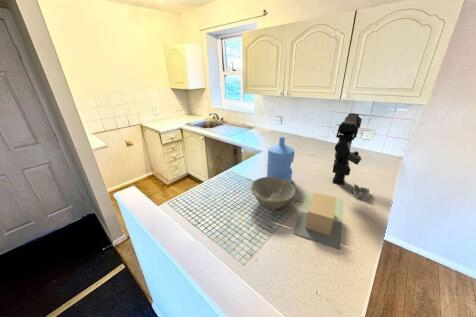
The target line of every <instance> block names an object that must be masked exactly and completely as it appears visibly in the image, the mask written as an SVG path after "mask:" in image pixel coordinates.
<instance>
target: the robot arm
mask: <svg viewBox="0 0 476 317" xmlns="http://www.w3.org/2000/svg"><path fill="white" fill-rule="evenodd" d="M362 120H363V119H362V118H361V117H360V114H358V113H348V115H347V116H346V117H345V119H344V121H342V122H341V124H339V126H338V128H337V133H336V135H335V136H336V137H335V138H337V139H338V141H337V142H336V144H335V146H334V150H335V151H334V160H333V166H332V173H333V174H334V177H332V183H333V184H338V185H345V180H346V179H345V178H346V177H348V176H350V173H351V167H350V163H353V164H355V165H357V166H358V165H359V163H360V162H361V161H362V157H361V155H359V153H360V152H358V151H356V150H355V151H353V152H352V151H351V147H352V143H353V141H354V140H355V139H356V138H357V135H358V133H359V132H358V131H359V129H360V128H361V124H362Z"/></svg>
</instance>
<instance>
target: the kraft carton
mask: <svg viewBox="0 0 476 317" xmlns="http://www.w3.org/2000/svg"><path fill="white" fill-rule="evenodd" d="M336 198H337V197H335V196H330V195H327V194H326V195H325V194H322V193H319V194H318V192H314V193H313V196H312V199H311V203H310V206H309V209H308V213H307V219H306V226H305V228H307V229H310V230H313V231H316V232H319V233H322V234H325V235H328V236H330V233H331V229H332V225H333V221H334V214H335V205H336Z"/></svg>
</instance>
